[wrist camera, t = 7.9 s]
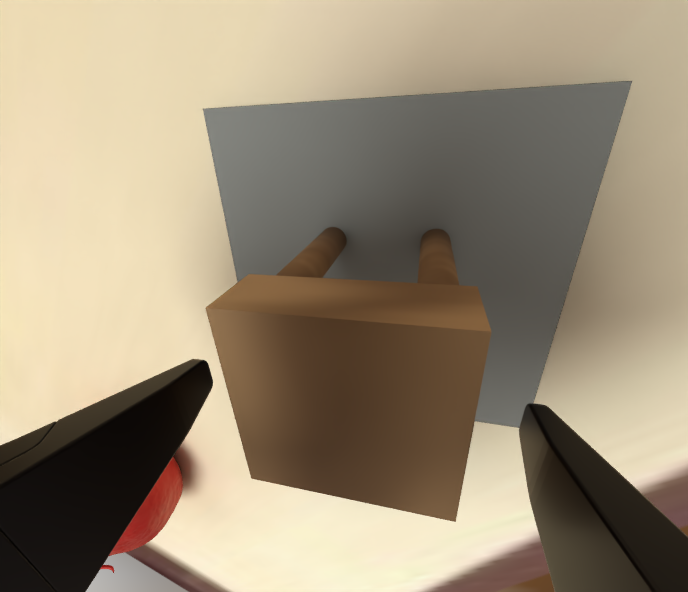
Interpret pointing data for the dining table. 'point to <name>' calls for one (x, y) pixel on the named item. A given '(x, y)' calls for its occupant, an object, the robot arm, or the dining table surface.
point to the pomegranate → (152, 511)
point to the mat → (430, 199)
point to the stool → (356, 377)
